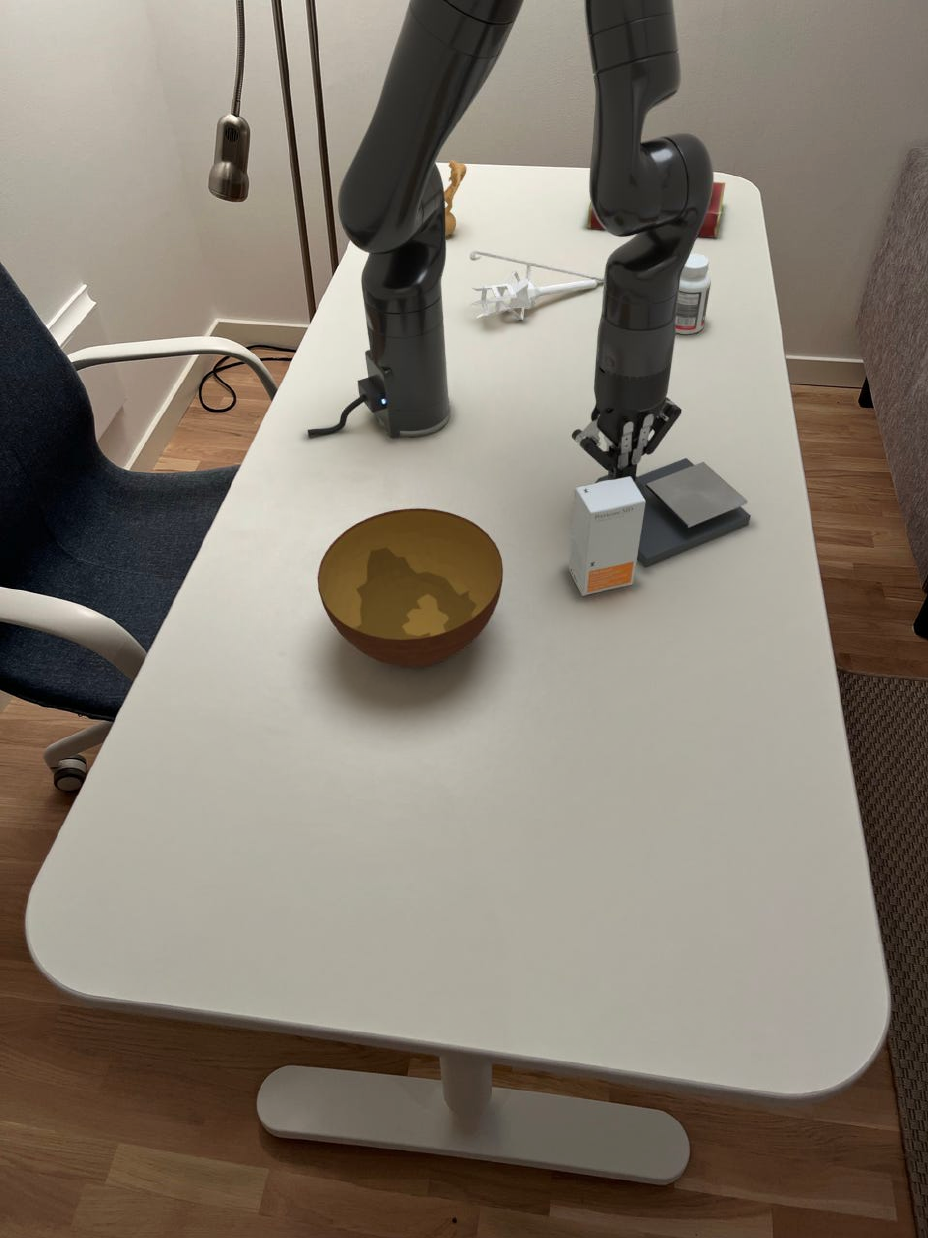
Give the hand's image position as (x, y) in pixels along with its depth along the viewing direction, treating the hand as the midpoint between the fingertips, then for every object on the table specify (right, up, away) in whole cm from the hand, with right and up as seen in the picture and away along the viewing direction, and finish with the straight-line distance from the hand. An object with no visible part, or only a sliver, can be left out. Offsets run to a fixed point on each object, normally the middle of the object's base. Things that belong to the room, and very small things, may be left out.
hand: (620, 487), depth 105 cm
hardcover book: (+14, +52, +51) cm, 75 cm away
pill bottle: (+14, +27, +28) cm, 42 cm away
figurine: (-20, +49, +50) cm, 73 cm away
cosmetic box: (-3, -11, -5) cm, 12 cm away
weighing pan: (+8, -1, -1) cm, 8 cm away
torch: (-6, +31, +33) cm, 46 cm away
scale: (+6, -3, +2) cm, 7 cm away
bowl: (-22, -17, -9) cm, 30 cm away
